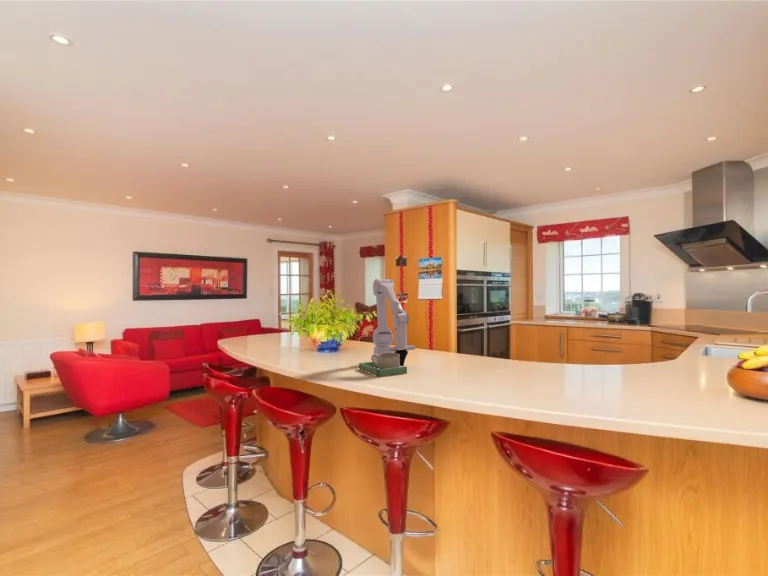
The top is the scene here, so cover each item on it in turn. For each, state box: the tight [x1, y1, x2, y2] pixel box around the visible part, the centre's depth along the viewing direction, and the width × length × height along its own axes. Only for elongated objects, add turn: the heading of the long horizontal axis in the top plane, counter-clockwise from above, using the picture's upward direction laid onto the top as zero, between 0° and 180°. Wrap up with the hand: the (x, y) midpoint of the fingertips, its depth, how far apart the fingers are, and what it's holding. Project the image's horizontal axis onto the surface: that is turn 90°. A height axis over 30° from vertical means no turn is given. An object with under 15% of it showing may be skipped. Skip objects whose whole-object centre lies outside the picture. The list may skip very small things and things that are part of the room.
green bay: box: [358, 361, 408, 377], centre depth 179 cm, size 20×15×3 cm
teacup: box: [370, 351, 401, 369], centre depth 180 cm, size 14×11×8 cm
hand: (401, 365), depth 184 cm, fingers closed
